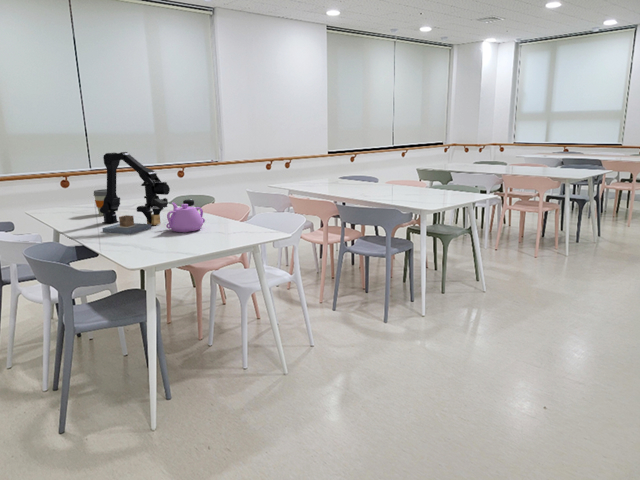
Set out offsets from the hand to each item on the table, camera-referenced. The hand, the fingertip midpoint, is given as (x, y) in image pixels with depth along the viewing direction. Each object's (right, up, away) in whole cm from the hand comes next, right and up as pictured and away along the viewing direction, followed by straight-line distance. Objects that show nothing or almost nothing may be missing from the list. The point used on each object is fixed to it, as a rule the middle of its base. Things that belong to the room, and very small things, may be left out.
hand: (153, 222), depth 273 cm
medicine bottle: (+17, +1, +13) cm, 21 cm away
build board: (-10, -5, -11) cm, 16 cm away
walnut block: (-10, -2, -12) cm, 16 cm away
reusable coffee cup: (-42, +6, +37) cm, 57 cm away
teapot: (+21, -5, -13) cm, 25 cm away
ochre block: (0, -1, 0) cm, 1 cm away
